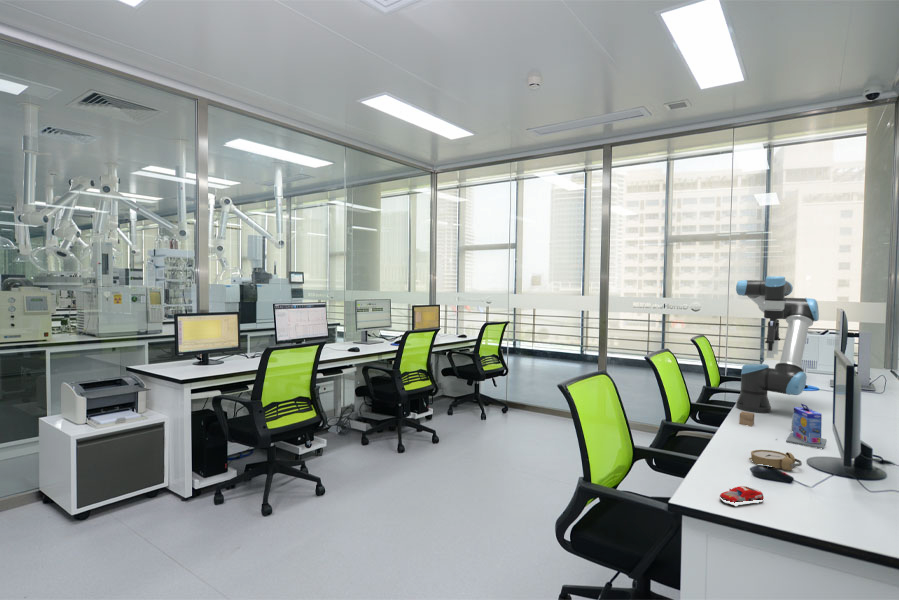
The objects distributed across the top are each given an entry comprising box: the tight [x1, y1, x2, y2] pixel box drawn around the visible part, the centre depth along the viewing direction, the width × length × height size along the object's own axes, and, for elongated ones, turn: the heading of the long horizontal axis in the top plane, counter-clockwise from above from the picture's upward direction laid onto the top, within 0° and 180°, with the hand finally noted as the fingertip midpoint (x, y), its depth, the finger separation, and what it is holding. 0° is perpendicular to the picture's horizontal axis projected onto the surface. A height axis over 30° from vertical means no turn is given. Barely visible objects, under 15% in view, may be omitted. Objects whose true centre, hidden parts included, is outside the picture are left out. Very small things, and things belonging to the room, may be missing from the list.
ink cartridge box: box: [792, 403, 823, 444], centre depth 194 cm, size 10×6×14 cm, turn 175°
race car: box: [719, 485, 765, 503], centre depth 139 cm, size 13×5×4 cm, turn 105°
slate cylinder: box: [791, 414, 794, 432], centre depth 208 cm, size 5×5×7 cm
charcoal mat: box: [785, 432, 827, 450], centre depth 195 cm, size 14×12×1 cm
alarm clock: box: [748, 449, 803, 472], centre depth 169 cm, size 11×5×15 cm
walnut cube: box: [738, 411, 755, 427], centre depth 218 cm, size 5×5×5 cm
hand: (772, 356), depth 219 cm, fingers open, 13 cm apart
